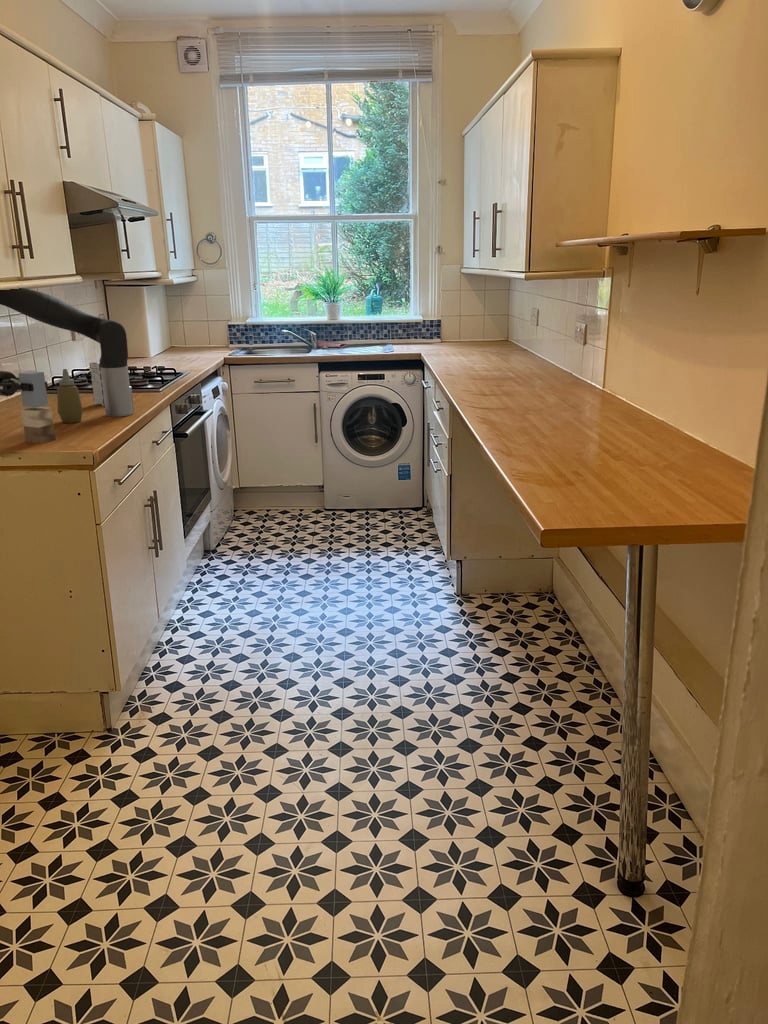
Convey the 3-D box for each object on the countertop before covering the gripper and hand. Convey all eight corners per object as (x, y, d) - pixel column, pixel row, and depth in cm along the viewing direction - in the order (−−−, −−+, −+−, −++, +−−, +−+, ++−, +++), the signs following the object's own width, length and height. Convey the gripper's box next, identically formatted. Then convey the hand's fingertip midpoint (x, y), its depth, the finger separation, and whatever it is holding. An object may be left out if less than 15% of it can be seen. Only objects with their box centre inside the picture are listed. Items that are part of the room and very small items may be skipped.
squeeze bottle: (55, 421, 267) (48, 369, 261) (78, 418, 272) (71, 367, 266) (65, 424, 261) (58, 371, 256) (88, 421, 267) (81, 369, 261)
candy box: (122, 399, 309) (117, 358, 304) (132, 400, 306) (127, 358, 301) (93, 404, 298) (88, 361, 293) (104, 406, 295) (99, 362, 290)
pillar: (35, 403, 238) (31, 371, 235) (48, 404, 236) (43, 371, 233) (23, 406, 233) (18, 373, 230) (35, 407, 232) (30, 374, 229)
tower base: (41, 438, 242) (38, 422, 240) (55, 439, 240) (53, 423, 238) (25, 442, 237) (23, 426, 235) (40, 443, 234) (38, 427, 233)
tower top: (38, 422, 240) (36, 406, 239) (53, 423, 238) (50, 407, 236) (23, 426, 235) (20, 410, 233) (38, 427, 233) (35, 411, 231)
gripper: (-24, 373, 230) (19, 376, 224) (14, 367, 243) (56, 370, 237) (-20, 398, 233) (23, 402, 227) (17, 391, 245) (59, 395, 239)
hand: (39, 386), depth 232 cm, fingers closed on pillar, 5 cm apart
